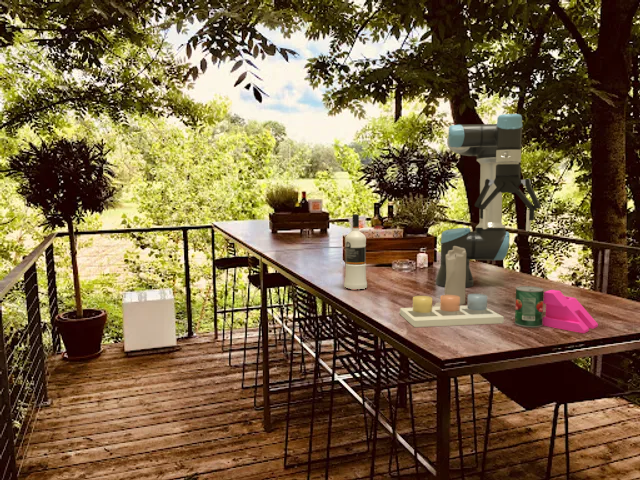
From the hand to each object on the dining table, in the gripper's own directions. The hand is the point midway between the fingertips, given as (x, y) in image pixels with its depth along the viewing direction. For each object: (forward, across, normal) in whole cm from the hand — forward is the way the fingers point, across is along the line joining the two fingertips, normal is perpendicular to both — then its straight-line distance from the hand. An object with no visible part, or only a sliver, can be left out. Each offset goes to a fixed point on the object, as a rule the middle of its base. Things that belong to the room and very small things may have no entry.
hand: (506, 229), depth 177 cm
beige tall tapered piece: (+28, -19, +2) cm, 34 cm away
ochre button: (+24, -19, -23) cm, 38 cm away
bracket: (+28, +21, -7) cm, 35 cm away
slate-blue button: (+24, -6, -11) cm, 27 cm away
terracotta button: (+24, -12, -17) cm, 32 cm away
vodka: (+28, -60, +9) cm, 67 cm away
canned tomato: (+27, +10, -11) cm, 31 cm away
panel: (+27, -12, -17) cm, 34 cm away
